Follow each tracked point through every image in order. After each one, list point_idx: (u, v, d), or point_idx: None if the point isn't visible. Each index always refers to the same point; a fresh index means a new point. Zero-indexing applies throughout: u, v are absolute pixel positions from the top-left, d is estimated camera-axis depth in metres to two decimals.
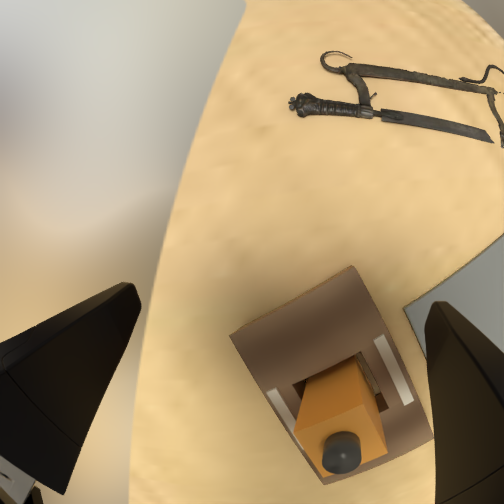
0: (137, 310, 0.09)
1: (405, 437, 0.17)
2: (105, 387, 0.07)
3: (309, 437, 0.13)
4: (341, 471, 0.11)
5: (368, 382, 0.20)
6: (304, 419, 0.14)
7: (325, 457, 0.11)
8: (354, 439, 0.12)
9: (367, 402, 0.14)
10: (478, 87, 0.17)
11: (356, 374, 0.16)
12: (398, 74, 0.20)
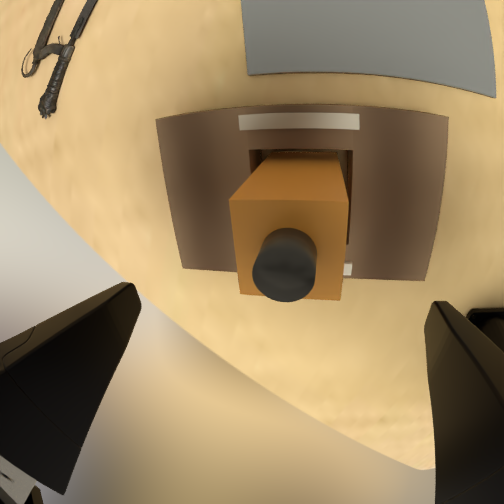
0: (137, 310, 0.09)
1: (417, 151, 0.13)
2: (105, 387, 0.07)
3: None
4: (306, 286, 0.09)
5: (315, 154, 0.16)
6: None
7: (264, 291, 0.10)
8: (273, 238, 0.10)
9: (269, 183, 0.11)
10: None
11: (255, 172, 0.13)
12: (53, 10, 0.13)
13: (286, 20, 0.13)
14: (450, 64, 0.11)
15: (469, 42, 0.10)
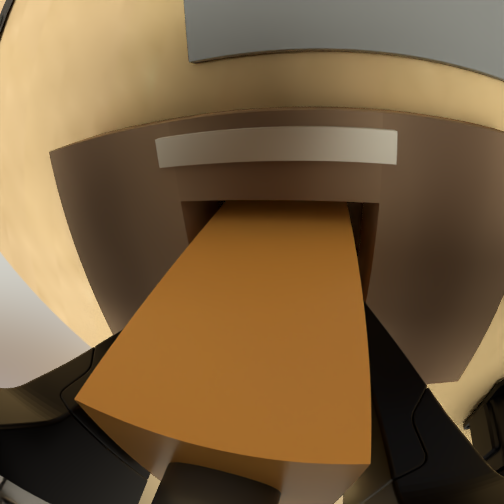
0: None
1: (491, 206, 0.06)
2: None
3: None
4: None
5: None
6: None
7: None
8: (175, 493, 0.03)
9: (183, 328, 0.05)
10: None
11: None
12: None
13: None
14: None
15: None
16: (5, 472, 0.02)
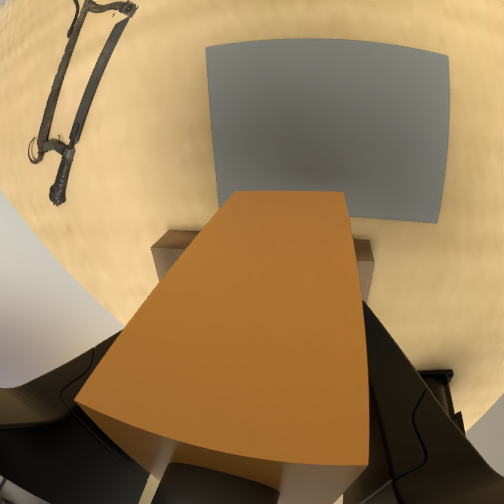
0: None
1: None
2: None
3: None
4: None
5: (307, 200, 0.09)
6: None
7: None
8: (174, 493, 0.03)
9: (182, 329, 0.05)
10: (79, 18, 0.15)
11: None
12: (50, 105, 0.20)
13: (251, 165, 0.19)
14: (395, 200, 0.18)
15: (420, 175, 0.17)
16: (5, 472, 0.02)
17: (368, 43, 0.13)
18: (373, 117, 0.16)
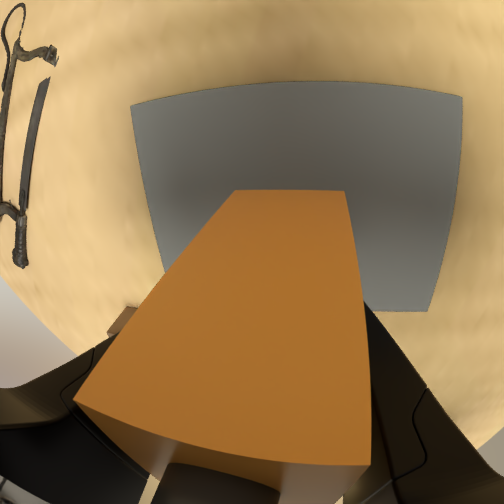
0: None
1: None
2: None
3: None
4: None
5: (307, 199, 0.09)
6: None
7: None
8: (174, 494, 0.03)
9: (182, 328, 0.05)
10: (10, 68, 0.12)
11: None
12: None
13: None
14: (376, 291, 0.15)
15: (410, 262, 0.14)
16: (5, 472, 0.02)
17: (346, 84, 0.10)
18: (351, 193, 0.13)
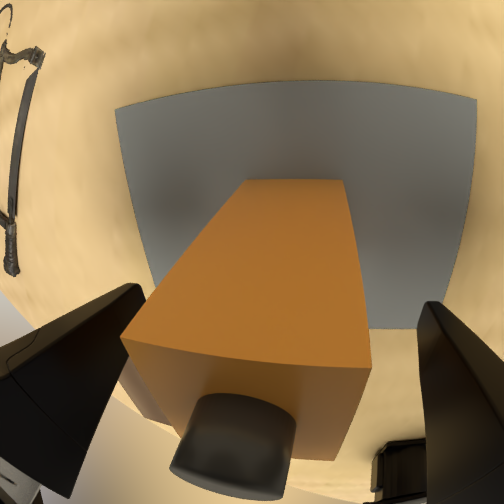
0: None
1: None
2: (111, 389, 0.07)
3: None
4: (268, 496, 0.04)
5: (310, 186, 0.11)
6: None
7: (199, 485, 0.04)
8: (206, 420, 0.04)
9: (213, 278, 0.06)
10: None
11: None
12: None
13: None
14: (379, 309, 0.14)
15: (416, 279, 0.12)
16: None
17: (350, 84, 0.09)
18: (355, 205, 0.11)
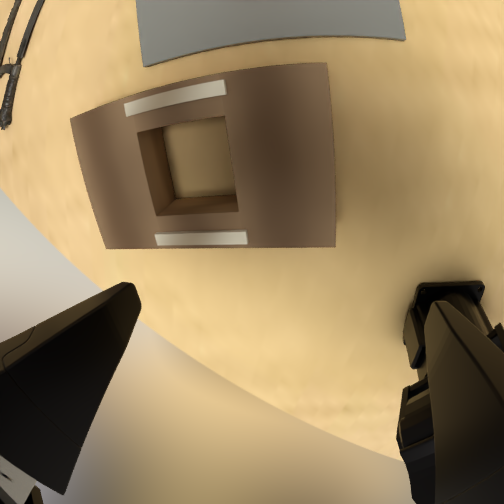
0: (137, 310, 0.09)
1: (294, 104, 0.13)
2: (105, 387, 0.07)
3: None
4: None
5: None
6: None
7: None
8: None
9: None
10: None
11: None
12: (4, 35, 0.13)
13: (172, 10, 0.13)
14: (342, 13, 0.11)
15: None
16: None
17: None
18: None
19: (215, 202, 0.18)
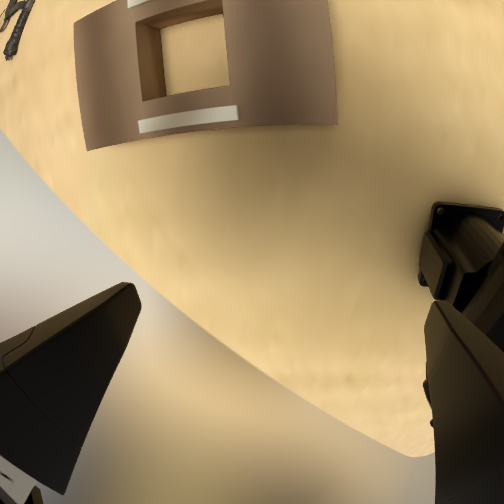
0: (137, 310, 0.09)
1: None
2: (105, 387, 0.07)
3: None
4: None
5: None
6: None
7: None
8: None
9: None
10: None
11: None
12: None
13: None
14: None
15: None
16: None
17: None
18: None
19: None
